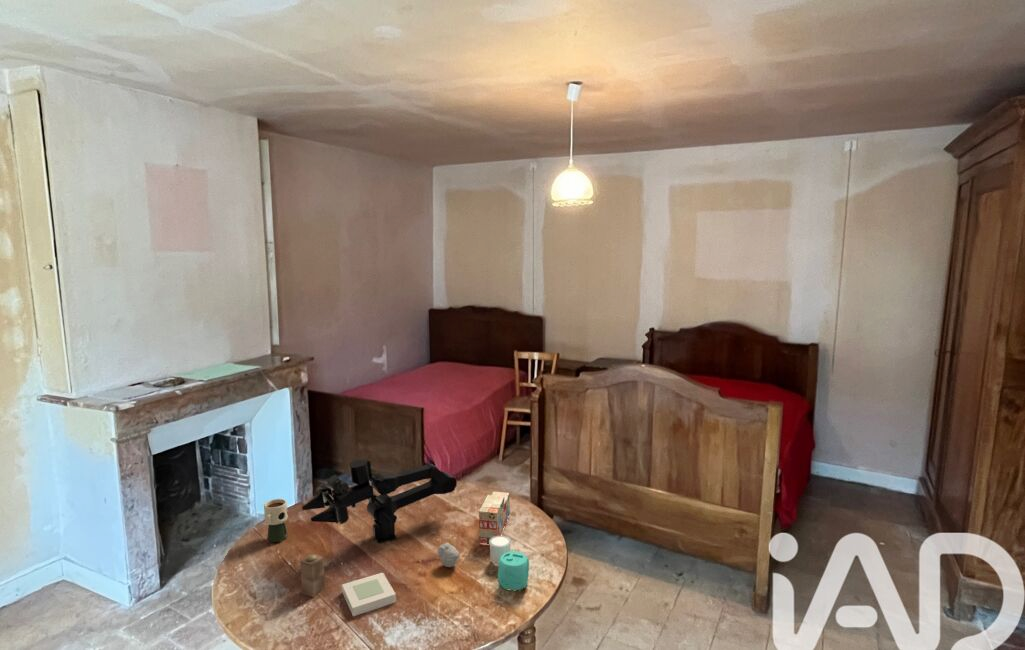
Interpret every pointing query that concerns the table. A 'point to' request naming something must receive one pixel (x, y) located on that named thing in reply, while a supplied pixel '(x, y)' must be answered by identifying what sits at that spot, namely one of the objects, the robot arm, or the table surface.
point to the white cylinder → (499, 547)
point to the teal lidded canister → (513, 570)
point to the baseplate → (368, 594)
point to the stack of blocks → (493, 516)
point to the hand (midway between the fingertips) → (306, 514)
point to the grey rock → (448, 555)
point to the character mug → (276, 519)
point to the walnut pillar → (312, 575)
